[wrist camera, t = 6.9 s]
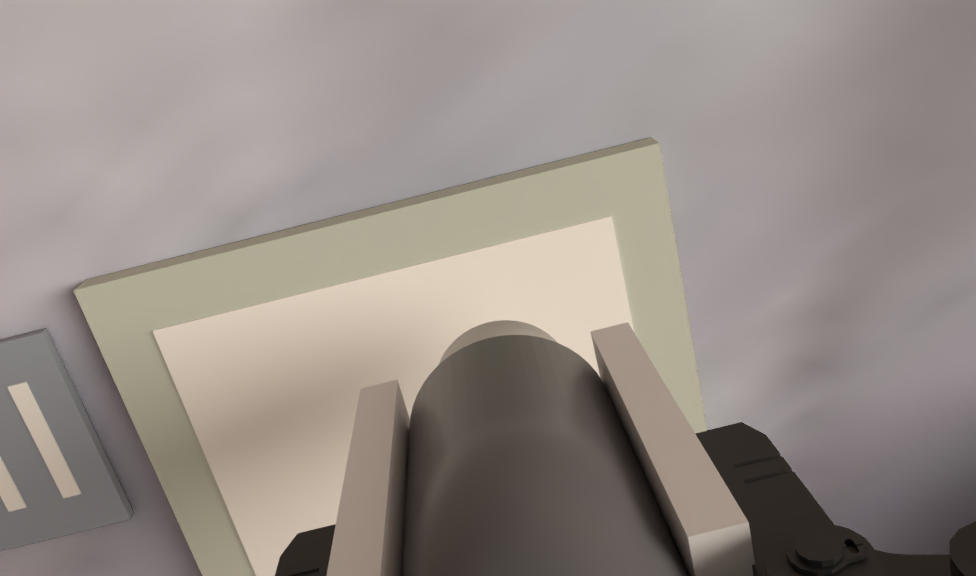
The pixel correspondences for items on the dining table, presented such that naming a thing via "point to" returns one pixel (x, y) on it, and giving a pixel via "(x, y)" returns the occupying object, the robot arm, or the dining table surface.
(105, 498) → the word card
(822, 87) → the dining table surface
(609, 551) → the marker
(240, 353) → the cream square framed board
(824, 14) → the dining table surface
